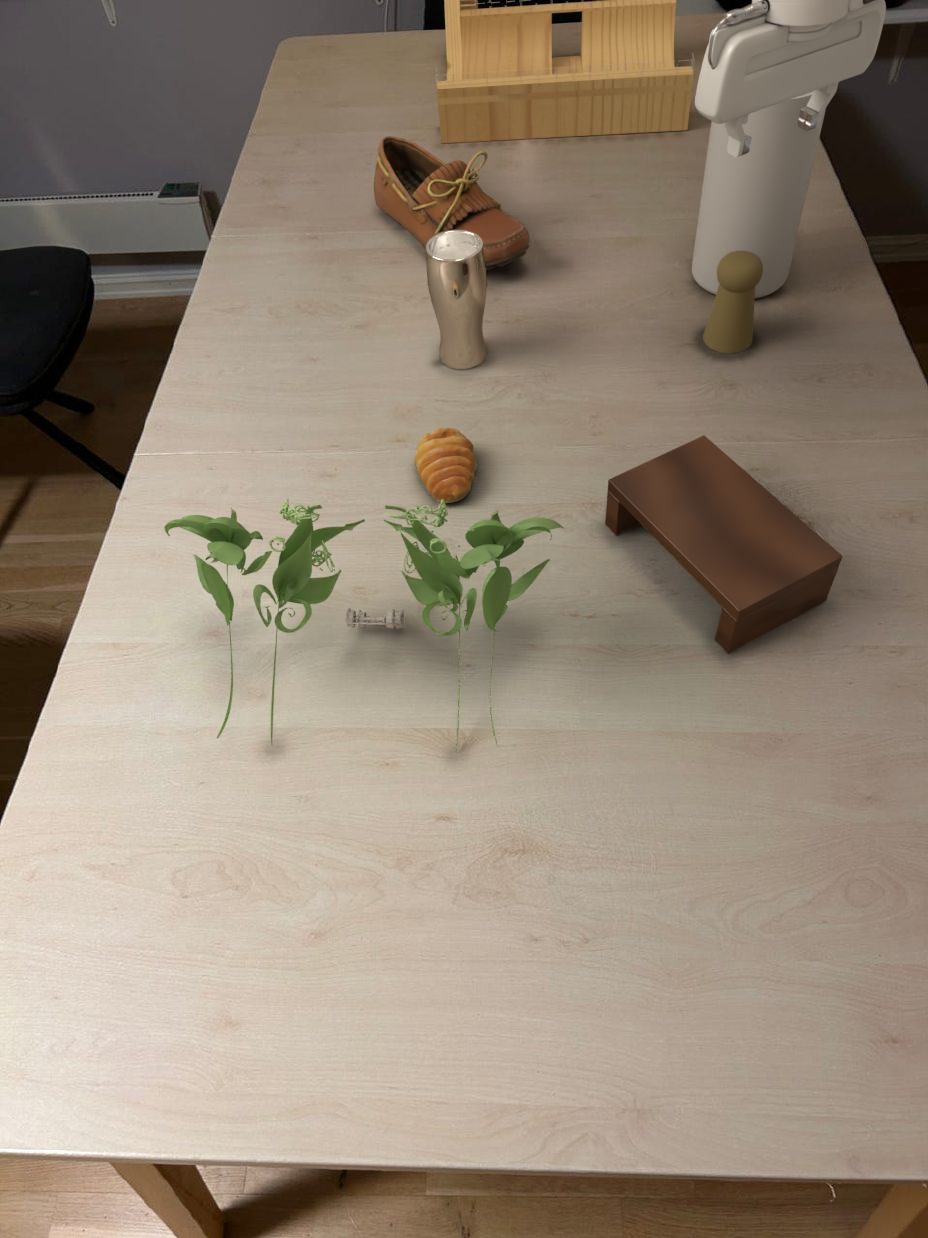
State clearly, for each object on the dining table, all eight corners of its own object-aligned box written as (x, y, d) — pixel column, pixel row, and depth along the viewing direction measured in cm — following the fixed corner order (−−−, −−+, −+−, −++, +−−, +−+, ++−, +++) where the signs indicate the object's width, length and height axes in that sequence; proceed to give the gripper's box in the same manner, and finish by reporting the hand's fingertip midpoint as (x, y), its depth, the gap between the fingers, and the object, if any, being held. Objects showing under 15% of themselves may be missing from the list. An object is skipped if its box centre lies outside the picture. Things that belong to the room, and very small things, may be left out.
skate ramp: (441, 149, 154) (431, 43, 141) (450, 53, 175) (442, -47, 162) (686, 136, 151) (699, 27, 138) (666, 40, 172) (675, -63, 159)
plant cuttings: (559, 745, 90) (563, 515, 90) (560, 771, 73) (565, 488, 73) (209, 733, 94) (214, 512, 94) (132, 756, 77) (139, 486, 77)
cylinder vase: (683, 296, 123) (710, 95, 103) (698, 245, 130) (725, 48, 110) (782, 307, 120) (828, 102, 100) (791, 254, 127) (836, 54, 107)
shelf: (696, 480, 101) (704, 434, 96) (826, 600, 90) (843, 556, 85) (604, 524, 98) (608, 479, 93) (727, 654, 87) (739, 611, 82)
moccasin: (540, 277, 128) (540, 190, 118) (458, 305, 125) (452, 219, 115) (443, 181, 146) (436, 100, 136) (369, 204, 143) (357, 122, 133)
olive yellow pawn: (759, 331, 117) (776, 249, 108) (742, 358, 114) (758, 276, 105) (713, 319, 119) (726, 238, 110) (695, 345, 116) (707, 264, 107)
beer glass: (459, 379, 115) (449, 268, 103) (424, 354, 119) (411, 244, 107) (502, 354, 118) (497, 244, 106) (466, 331, 121) (458, 221, 109)
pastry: (484, 502, 102) (482, 476, 99) (423, 512, 101) (419, 486, 98) (471, 445, 107) (468, 419, 104) (413, 454, 107) (409, 429, 104)
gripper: (737, 27, 82) (713, 182, 93) (909, -29, 87) (867, 124, 98) (691, 5, 85) (673, 157, 96) (860, -47, 91) (825, 102, 101)
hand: (773, 140), depth 97 cm, fingers open, 8 cm apart
